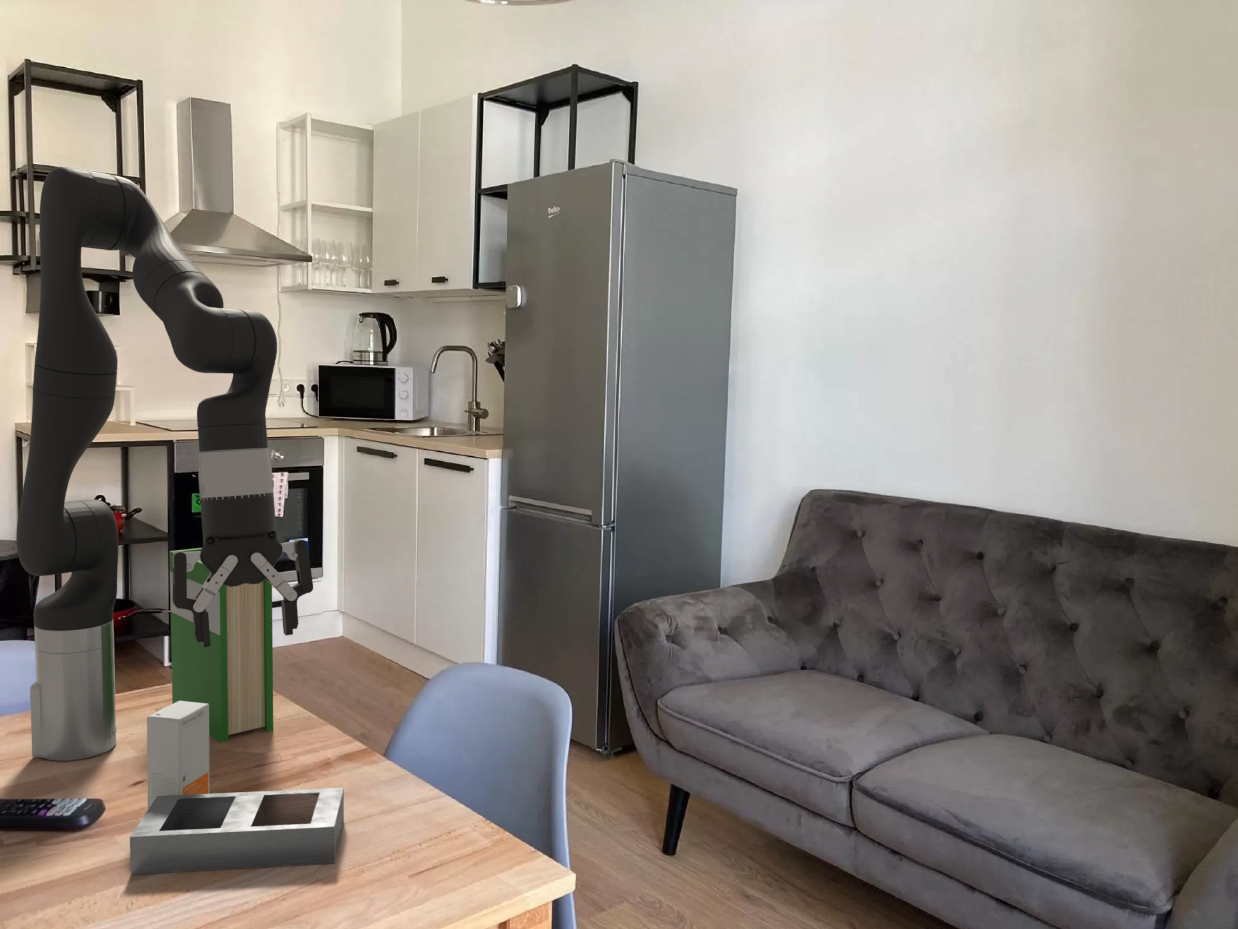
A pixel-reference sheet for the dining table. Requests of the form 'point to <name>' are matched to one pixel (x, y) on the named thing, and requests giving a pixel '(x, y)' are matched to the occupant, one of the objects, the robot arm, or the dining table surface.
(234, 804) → the holder
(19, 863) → the dining table surface
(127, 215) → the robot arm
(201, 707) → the skincare box
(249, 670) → the hardback book
